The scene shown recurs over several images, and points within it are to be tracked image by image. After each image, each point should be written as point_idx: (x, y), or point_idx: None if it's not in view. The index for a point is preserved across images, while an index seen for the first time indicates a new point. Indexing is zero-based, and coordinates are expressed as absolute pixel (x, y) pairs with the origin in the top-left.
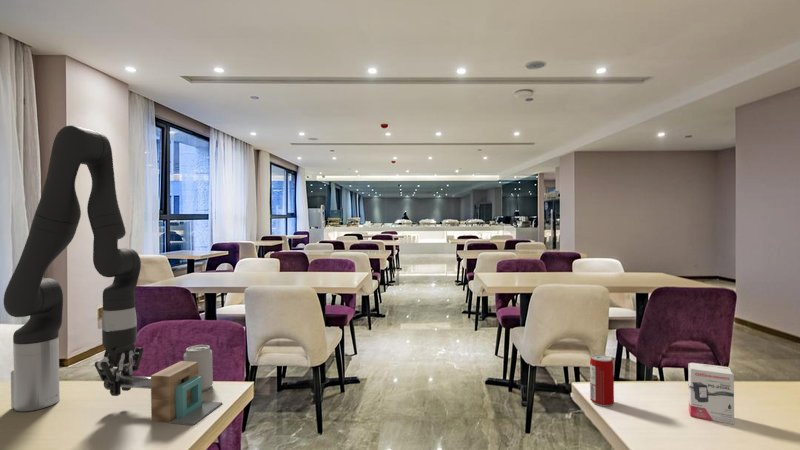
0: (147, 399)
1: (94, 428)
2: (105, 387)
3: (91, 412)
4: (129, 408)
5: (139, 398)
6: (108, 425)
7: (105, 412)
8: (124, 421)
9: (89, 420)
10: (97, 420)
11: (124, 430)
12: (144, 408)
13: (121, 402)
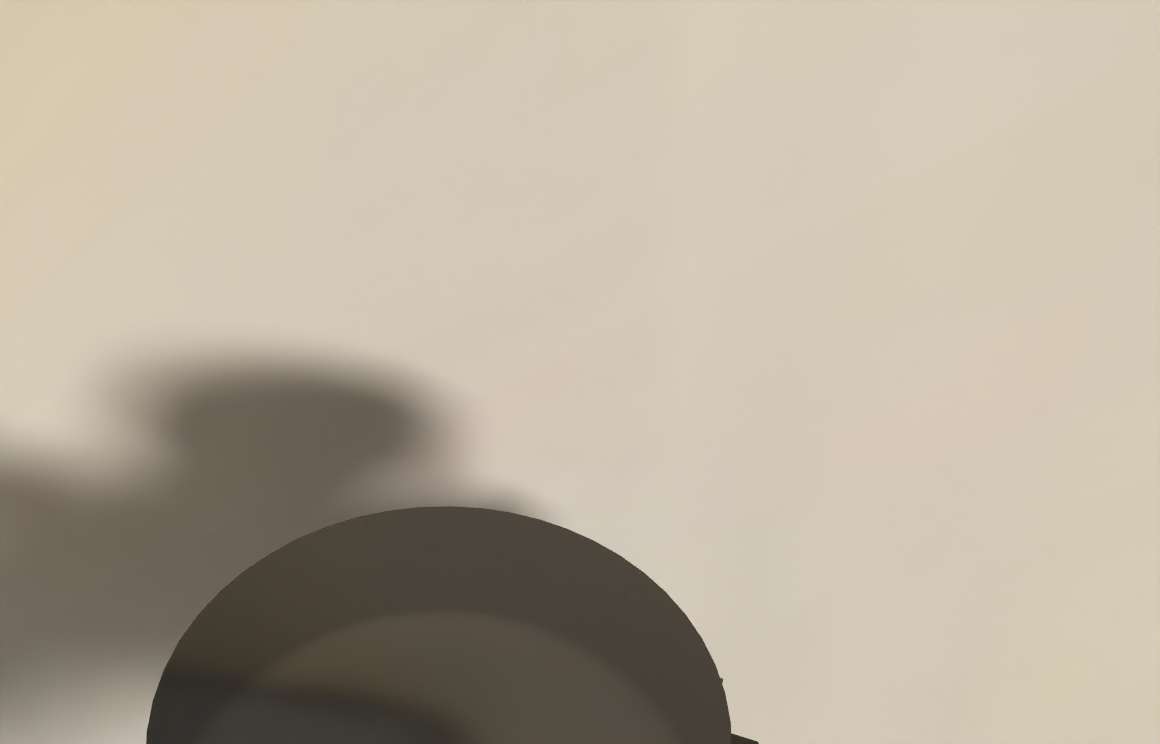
0: (988, 702)
1: (32, 419)
2: (285, 568)
3: (438, 38)
4: None
5: (1076, 579)
6: (134, 530)
7: (461, 299)
8: None
9: (177, 218)
10: (205, 335)
11: (100, 704)
12: None
13: (911, 352)
